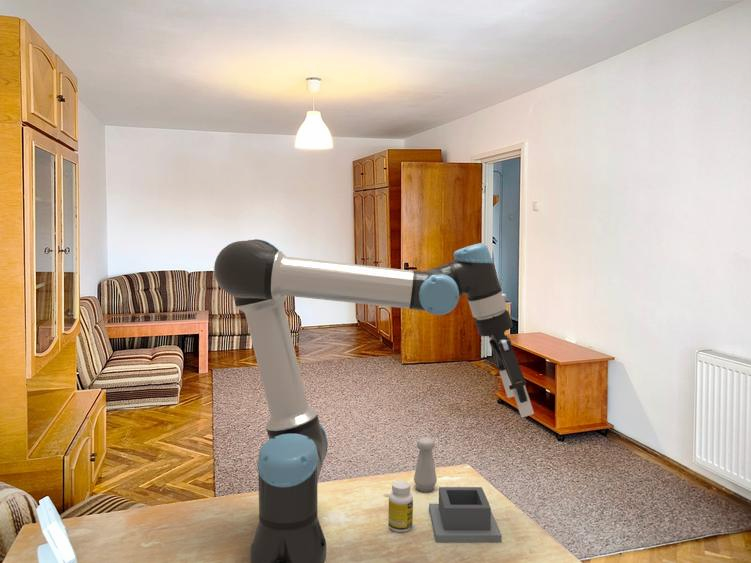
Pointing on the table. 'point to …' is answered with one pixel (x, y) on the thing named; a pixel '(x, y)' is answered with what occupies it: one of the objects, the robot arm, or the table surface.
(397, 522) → the supplement bottle
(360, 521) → the table surface
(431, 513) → the socket board
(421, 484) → the salt shaker
